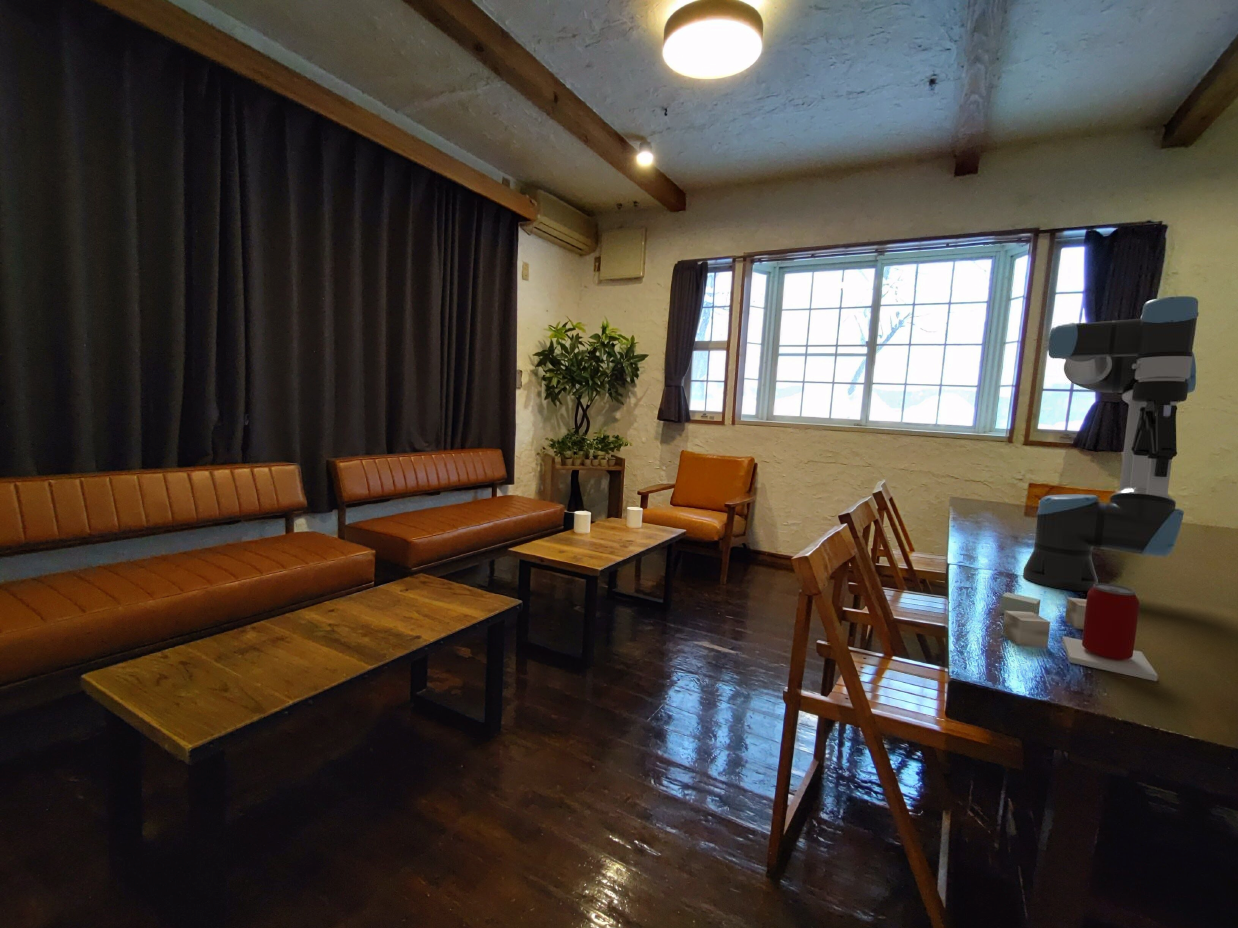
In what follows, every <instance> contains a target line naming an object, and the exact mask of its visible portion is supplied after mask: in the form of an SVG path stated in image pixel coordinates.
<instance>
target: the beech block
mask: <svg viewBox="0 0 1238 928" xmlns="http://www.w3.org/2000/svg"><path fill="white" fill-rule="evenodd" d="M1086 601H1087V598H1085V599H1084V598H1077V597H1075V598H1074V597H1068V596H1067V598H1066V607H1065V608H1066V609H1065V617H1064V621H1065V622H1067V623H1068V624H1069V625H1071V626H1072V627H1074V628H1075V629H1076V630H1077V629H1078V630H1083V627H1084V618H1085V609H1086Z"/></svg>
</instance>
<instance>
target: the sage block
mask: <svg viewBox="0 0 1238 928" xmlns="http://www.w3.org/2000/svg"><path fill="white" fill-rule="evenodd" d="M1040 607H1041V599H1039V598H1034V597H1030V596H1025V595H1023V594H1016V593H1013V592H1012V593H1011V592H1009V591H1007V592H1005V593H1003V594H1002V596H1001V601H1000V612H999V613H1000V614H1002V615H1004V612H1005V611H1020V612H1033V613H1034V614H1036V615H1038V616H1040V609H1041V608H1040Z"/></svg>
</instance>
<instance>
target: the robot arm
mask: <svg viewBox="0 0 1238 928" xmlns="http://www.w3.org/2000/svg"><path fill="white" fill-rule="evenodd" d="M1141 312H1142V313H1141V316H1140V318H1135V319H1134V318H1133V319H1122V320H1110V321H1109V320H1107V321H1105V320H1104V321H1094V322H1093V321H1092V322H1091V321H1090V322H1077V323H1076V322H1069V323H1065V324H1057V325H1054V326H1053V327H1052V328H1051V329H1050V332H1049V333H1050V334H1049V338H1048V356H1049V357H1050V358H1052V359H1061V360H1065V361H1064V364H1063V371H1064V375H1065V377H1066V378H1067V380H1069V381H1070V382H1071V383H1072V384H1074V385H1076V386H1077V387H1080V388H1083V389H1086V390H1089V391H1094V392H1097V393H1098V392H1099V393H1113V394H1116V393H1117V394H1118V393H1119V394H1120V393H1121V399H1122V401H1124V402H1125V403H1127V404H1128V411H1127V420H1126V427H1125V437H1124V446H1123V454H1122V463H1121V470H1120V471H1121V472H1120V481H1119V489H1118V491H1116V492H1114V493H1112V494H1111V495H1110V497H1109V502H1108V501H1107V502H1105V501H1100V498H1099V497H1098V496H1097V495H1094V494H1084V493H1083V494H1082V493H1081V494H1079V493H1078V494H1074V493H1073V494H1072V493H1071V494H1070V493H1069V494H1068V493H1067V494H1052V495H1050V494H1049V495H1046V496H1043V497H1041V498H1040V499H1039V503H1038V509H1037V512H1036V515H1037V517H1036V518H1037V520H1036V527H1035V538H1034V547H1033V551H1032V552H1031V554H1030V556H1029V558H1028V559H1027V562H1026V563H1025V565H1024V568H1023V573H1022V577H1023V579H1026V580H1027V581H1029V582H1032V583H1035V584H1038V585H1041V586H1046V587H1049V588H1054V589H1059V590H1060V589H1061V590H1067V591H1076V592H1088V591H1089V590H1090V589H1091V588H1092V587H1093V586H1094V584H1096V583H1099V580H1098V576H1097V574H1096V570H1095V566H1094V563H1093V559H1092V555H1093V548H1094V549H1095V548H1096V549H1103V550H1109V551H1116V552H1124V553H1130V554H1136V555H1137V554H1138V555H1141V556H1151V557H1152V556H1153V557H1163V558H1164V557H1168V556H1169V555H1171V554H1172V552H1173V550H1174V547H1175V545H1176V543H1177V539H1178V536H1179V533H1180V530H1181V526H1182V523H1183V518H1184V514H1185V512H1184V510H1182V509H1180V508H1176V504H1177V501H1176V500H1175V499H1174V498H1172V497H1171V496H1170V495H1169V494H1168V492H1169V487H1170V484H1169V483H1170V478H1171V477H1170V476H1171V469H1172V463H1173V459H1174V458H1175V457H1177V455H1178V449H1177V411H1178V406H1177V405H1178V404H1179V403H1181V402H1185V401H1187V399H1188V394H1189V393H1193V392H1194V391H1195V390H1196V384H1197V375H1196V374H1197V365H1196V358H1195V357H1196V356H1195V355H1194V354H1195V353H1194V351H1193V348H1194V342H1195V335H1196V329H1197V321H1198V317H1199V300H1198V298H1196V297H1195V296H1188V295H1187V296H1186V295H1182V296H1181V295H1180V296H1179V295H1178V296H1168V297H1161V298H1154V299H1151V300H1148V301H1146V302H1145V303H1144V305H1143V307H1142V311H1141Z"/></svg>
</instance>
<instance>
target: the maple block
mask: <svg viewBox="0 0 1238 928" xmlns="http://www.w3.org/2000/svg"><path fill="white" fill-rule="evenodd" d="M1050 627H1051V621H1049V620H1047V619H1046V618H1044V617H1042V616H1040V615H1039V616H1038V615H1036V614H1034V613H1033V612H1020V611H1005V612H1004V614H1003V623H1002V636H1003V637H1005V638H1006V639H1007V640H1009V641H1010V642H1012V643H1014V644H1015V645H1017V646H1018V647H1031V648H1044V649H1047V648H1048V646H1049V637H1050Z"/></svg>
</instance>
